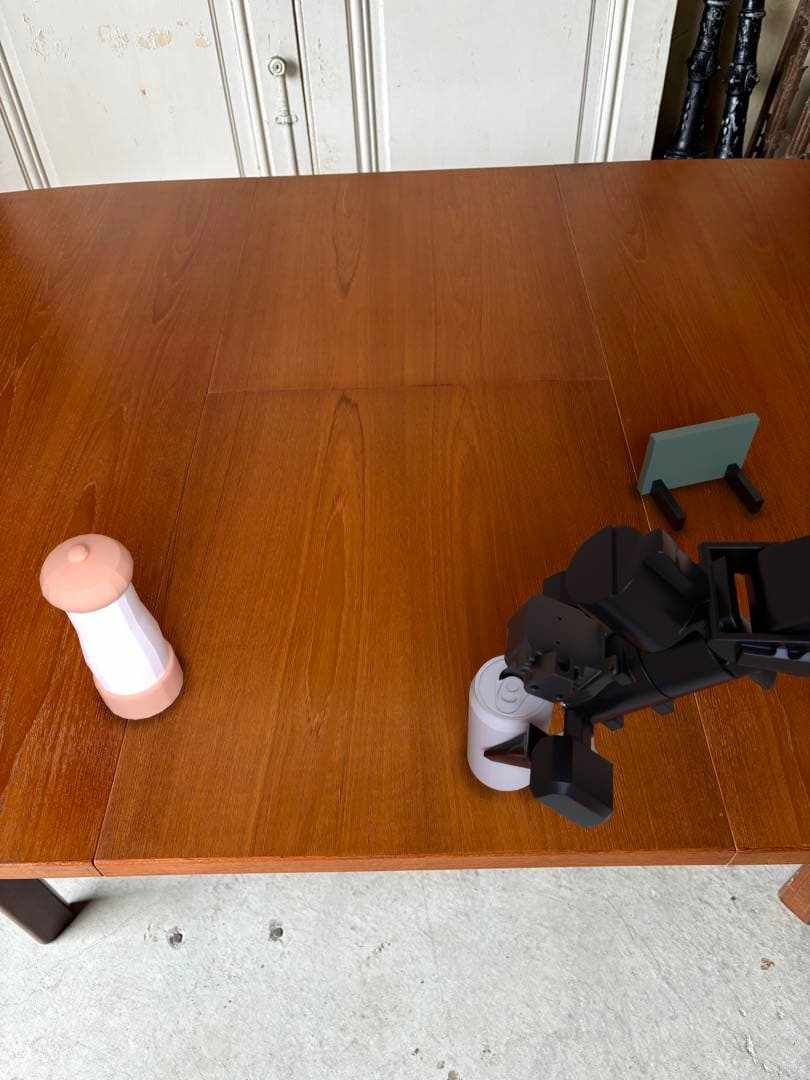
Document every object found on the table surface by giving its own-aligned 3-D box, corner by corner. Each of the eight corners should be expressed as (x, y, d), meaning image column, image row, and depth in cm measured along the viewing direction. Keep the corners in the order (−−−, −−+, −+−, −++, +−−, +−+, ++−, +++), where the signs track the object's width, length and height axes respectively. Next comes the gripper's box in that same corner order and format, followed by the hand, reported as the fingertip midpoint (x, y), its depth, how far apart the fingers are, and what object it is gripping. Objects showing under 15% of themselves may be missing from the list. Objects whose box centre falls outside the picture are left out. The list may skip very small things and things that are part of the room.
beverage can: (549, 737, 71) (564, 661, 62) (532, 805, 67) (545, 734, 58) (478, 717, 72) (482, 640, 63) (457, 782, 68) (459, 710, 59)
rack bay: (767, 510, 88) (791, 455, 82) (665, 533, 86) (682, 479, 80) (734, 467, 92) (754, 412, 87) (636, 487, 91) (650, 433, 85)
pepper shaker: (95, 720, 73) (12, 589, 59) (114, 652, 78) (41, 516, 64) (175, 719, 73) (111, 586, 59) (189, 651, 78) (133, 513, 64)
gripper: (588, 493, 58) (435, 576, 67) (582, 729, 45) (397, 788, 55) (679, 575, 62) (524, 641, 72) (696, 807, 50) (507, 849, 60)
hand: (491, 718), depth 65 cm, fingers closed on beverage can, 6 cm apart
